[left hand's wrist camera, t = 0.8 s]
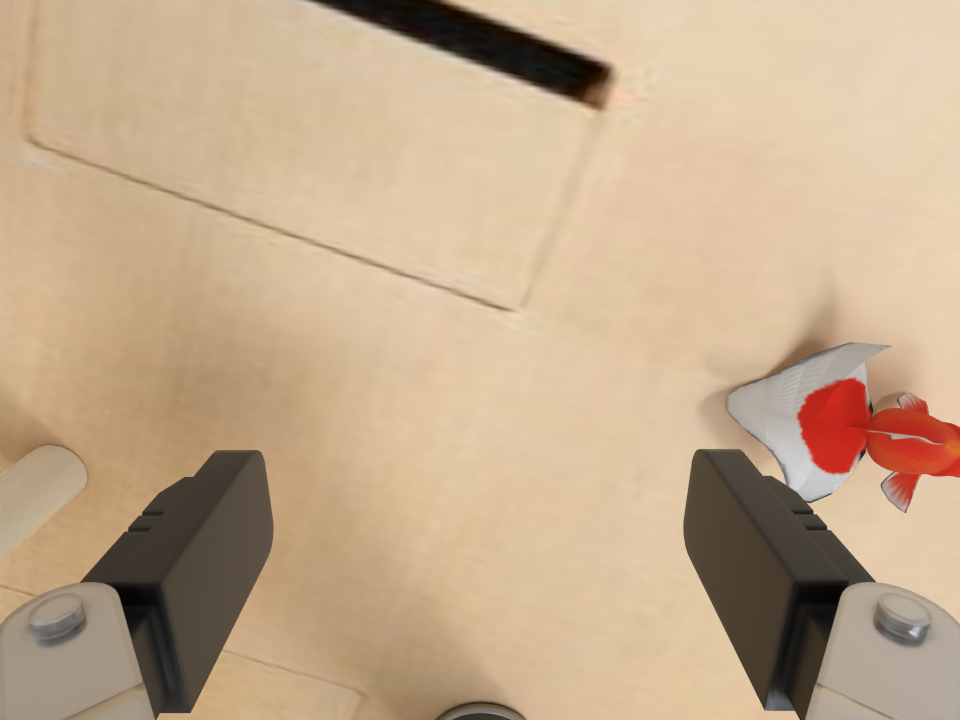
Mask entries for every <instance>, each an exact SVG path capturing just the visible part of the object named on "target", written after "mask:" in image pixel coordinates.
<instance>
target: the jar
mask: <svg viewBox="0 0 960 720" xmlns="http://www.w3.org/2000/svg"><path fill="white" fill-rule="evenodd" d="M87 478H88V477H87V470H86V468H85V465H84V464H83V462H82V461H81V460H80V458H79V457H78V456H77V455H75V454H74V453H73V452H71V451H70V450H68V449H66V448H63V447H60V446H55V445H45V446H40V447H38V448H36V449H34V450H33V451H31V452H30V453H29V454H27V455H26V456H24V457H23V458H22V459H20V460H19V461H17V462H16V463H15V464H13V465H12V466H10V467H9V468H8V469H6V470H5V471H3V472H2V473H1V474H0V564H1V563H2V562H3V561H4V560H5V559H7V558H8V557H9V556H10V555H11V554H12V553H13V552H14V551H15V550H17V549H18V548H19V547H20V546H21V545H22V544H23V543H24V542H25V541H27V540H28V539H29V538H30V537H31V536H32V535H33V534H34V533H35V532H36V531H38V530H39V529H40V528H41V527H42V526H43V525H44V524H45V523H46V522H48V521H49V520H50V519H51V518H52V517H53V516H54V515H55V514H56V513H58V512H59V511H60V510H61V509H62V508H63V507H64V506H65V505H66V504H68V503H69V502H70V501H71V500H72V499H73V498H74V497H75V496H76V495H77V494H79V493H80V492H81V491H82V490H83V489H84V487H85V486H86V483H87Z"/></svg>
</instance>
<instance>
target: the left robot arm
mask: <svg viewBox="0 0 960 720" xmlns="http://www.w3.org/2000/svg"><path fill="white" fill-rule="evenodd" d="M683 528H684V540H685V546H686V549H687V553H688V555H689V557H690V559H691V561H692V563H693V566H694V568H695V570H696V572H697V574H698V576H699V578H700V580H701V582H702V584H703V586H704V588H705V590H706V592H707V594H708V596H709V598H710V600H711V602H712V604H713V606H714V608H715V610H716V612H717V614H718V616H719V618H720V620H721V622H722V624H723V627H724V629H725V631H726V633H727V635H728V637H729V639H730V641H731V643H732V645H733V647H734V649H735V651H736V653H737V655H738V657H739V659H740V661H741V663H742V665H743V667H744V669H745V671H746V673H747V675H748V677H749V679H750V681H751V683H752V685H753V687H754V690H755V692H756V694H757V696H758V698H759V700H760V702H761V704H762V706H763V708H764V710H765V711H795V712H796V713H797V715H798V717H799V719H800V720H960V624H959V623H958V622H957V621H956V620H955V619H954V618H953V617H952V616H951V615H950V614H949V613H947V612H946V611H945V610H944V609H942V608H941V607H940V606H938V605H937V604H935V603H933V602H932V601H930V600H928V599H927V598H925V597H923V596H921V595H919V594H917V593H914V592H912V591H909V590H907V589H904V588H900V587H897V586H894V585H889V584H884V583H877V582H876V581H875V580H874V579H873V578H872V577H871V576H870V574H869V573H868V572H867V571H866V570H865V569H864V568H863V567H862V565H861V564H860V563H859V562H858V561H857V560H856V559H855V557H854V556H853V555H852V554H851V553H850V552H849V551H848V549H847V548H846V547H845V546H844V545H843V544H842V543H841V541H840V540H839V539H838V538H837V537H836V536H835V535H834V534H833V532H832V531H831V530H827V526H826V524H825V523H824V522H823V521H822V520H821V519H820V518H819V516H818V515H817V514H814V513H813V510H812V509H811V507H810V506H809V505H808V504H807V503H806V502H805V501H804V499H803V498H802V497H801V496H800V495H799V494H798V493H797V492H796V491H795V490H793V489H791V488H790V487H788V486H787V485H785V484H783V483H782V482H780V481H779V480H777V479H775V478H774V477H772V476H762V474H761V473H760V472H759V471H758V469H757V468H756V467H755V466H754V465H753V463H752V462H751V461H750V460H749V458H748V457H747V456H746V455H745V454H744V452H743V451H741V450H739V449H699V450H697V451H696V452H695V454H694V456H693V460H692V465H691V473H690V480H689V487H688V494H687V501H686V508H685V515H684V526H683ZM272 540H273V517H272V510H271V503H270V496H269V489H268V482H267V475H266V468H265V462H264V458H263V455H262V453H261V452H260V451H258V450H217V451H215V452H214V453H213V454H212V455H211V456H210V457H209V459H208V460H207V461H206V462H205V464H204V465H203V466H202V467H201V468H200V470H199V471H198V472H197V473H196V474H195V476H194V477H184V478H183V479H181V480H179V481H178V482H176V483H175V484H173V485H171V486H170V487H168V488H167V489H165V490H163V491H162V492H160V493H159V494H158V495H157V496H156V497H155V498H154V499H153V501H152V502H151V503H150V504H149V505H148V506H147V507H146V508H145V510H144V511H143V512H142V516H138V518H137V519H136V520H135V521H134V522H133V523H132V524H131V525H130V527H129V528H128V532H124V533H123V534H122V536H121V537H120V538H119V539H118V540H117V541H116V542H115V543H114V545H113V546H112V547H111V548H110V549H109V550H108V551H107V552H106V554H105V555H104V556H103V557H102V558H101V559H100V560H99V561H98V563H97V564H96V565H95V566H94V567H93V568H92V569H91V570H90V572H89V573H88V574H87V575H86V576H85V577H84V578H83V580H82V581H81V582H80V583H76V584H71V585H66V586H63V587H60V588H56V589H53V590H51V591H48V592H46V593H43V594H41V595H39V596H37V597H35V598H33V599H32V600H30V601H28V602H27V603H25V604H23V605H22V606H20V607H19V608H18V609H16V610H15V611H14V612H13V613H11V614H10V615H9V616H8V617H7V618H6V619H5V620H4V621H3V622H2V623H1V624H0V720H156V719H157V718H158V716H159V714H160V713H191V711H192V709H193V707H194V705H195V703H196V701H197V699H198V697H199V695H200V693H201V691H202V689H203V687H204V685H205V683H206V681H207V679H208V677H209V675H210V673H211V671H212V669H213V667H214V665H215V663H216V661H217V659H218V657H219V655H220V653H221V651H222V649H223V647H224V645H225V643H226V641H227V639H228V637H229V635H230V633H231V631H232V629H233V627H234V625H235V623H236V620H237V618H238V616H239V614H240V612H241V610H242V608H243V606H244V604H245V602H246V600H247V598H248V596H249V594H250V592H251V590H252V588H253V586H254V584H255V582H256V580H257V578H258V576H259V574H260V572H261V570H262V568H263V566H264V564H265V562H266V560H267V558H268V556H269V553H270V550H271V546H272ZM439 720H524V719H523V718H522V717H521V716H520V715H519V714H517V713H516V712H514V711H512V710H510V709H508V708H505V707H502V706H498V705H493V704H482V703H481V704H470V705H465V706H461V707H458V708H455V709H453V710H451V711H449V712H447V713H446V714H444V715H443V716H442V717H441V718H440V719H439Z"/></svg>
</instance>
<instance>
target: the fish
mask: <svg viewBox="0 0 960 720" xmlns="http://www.w3.org/2000/svg"><path fill="white" fill-rule="evenodd" d="M889 347H891V346H888V345H875V344H863V343H847V344H844V345H841V346H838V347H835V348H832V349H828V350H825V351H822V352H819V353H816V354H813V355H810V356H808V357H806V358H804V359H802V360H800V361H798V362H796V363H795V364H793V365H791V366H789V367H787V368H785V369H783V370H781V371H779V372H777V373H775V374H773V375H771V376H769V377H767V378H765V379H761V380H758V381H755V382H751V383H749V384H747V385H744V386H742V387H739V388H738V389H736V390H734V391H732V392H731V393H729V394H728V395H727V396H726V410H727V412H728V413H729V414H730V415H731V417H732V418H733V419H734V420H735V421H736V422H737V423H738V424H739V425H740V426H742V427H743V428H744V429H745V430H746V431H748V432H749V433H750V434H751V435H752V436H754V437H755V438H756V439H757V440H759V441H760V442H761V443H763V444H764V445H765V446H766V447H767V448H768V449H769V451H770V452H771V453H772V454H773V456H774V457H775V458H776V460H777V462H778V464H779V466H780V468H781V470H782V472H783V474H784V477H785V481H786V485H787V486H788V487H790V488H791V489H793V490H795V491H796V492H797V493H798V494H799V495H800V496H801V497H802V498H803V499H804V501H805V502H807V503H812V502H814V501H817V500H819V499H821V498H824V497H826V496H828V495H831V494H832V493H833V492H834V491H835V490H836V489H837V488H838V487H840V486H841V485H842V484H843V482H844V481H845V480H846V479H847V477H848V476H849V475H850V473H851V472H852V471H853V469H854V468H855V467H856V465H857V464H858V462H859V461H860V460H861V458H862V457H863V455H864V454H865V452H866V448H867V451H868V453H869V455H870V457H871V458H872V460H873V461H874V462H875V463H877V464H878V465H880V466H881V467H883V468H885V469H888V470H890V471H894V472H893V473H891V474H890V475H889V476H888V477H887V478H886V479H885V480H884V481H883V482H882V483H881V488H882V490H883V492H884V494H885V495H886V497H887V498H888V500H889V501H890V502H891V503H892V504H894V505H895V506H896V507H897V508H898V509H899V510H901V511H903V512H905V513H906V511H907V508H908V506H909V504H910V502H911V499H912V496H913V492H914V490H915V488H916V485H917V482H918V480H919V478H920V476H921V474H929V475H932V476H954V477H958V478H960V427H958V426H956V425H954V424H951V423H946V422H941V421H940V420H938V419H936V418H934V417H932V416H930V415H929V412H928V406H927V404H926V402H925V401H923V400H921V399H919V398H918V397H916V396H915V395H913V394H912V393H906V394H903V395H902V396H900V397H899V398H898V399H897V401H898V403H899V404H900V406H901V408H902V409H901V408H890V409H885V410H883V411H881V412H879V413H877V414H876V415H874V416H873V417H872V413H873V408H872V404H871V399H870V396H869V392H868V388H867V370H866V361H867V360H868V359H869V358H871V357H872V356H874V355H875V354H877V353H878V352H880V351H882V350H884V349H886V348H889ZM871 417H872V418H871Z"/></svg>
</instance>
